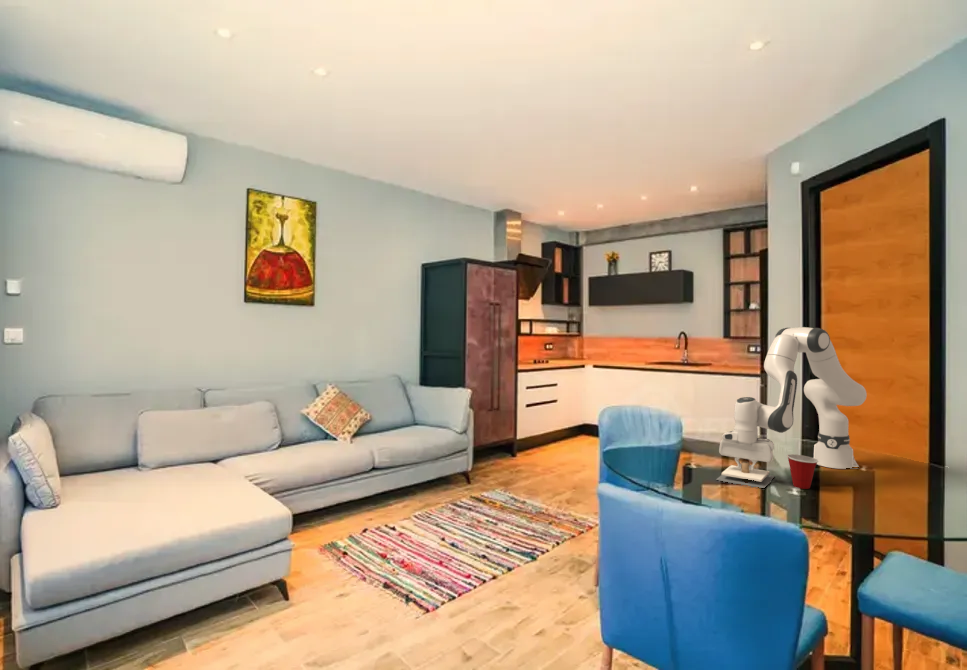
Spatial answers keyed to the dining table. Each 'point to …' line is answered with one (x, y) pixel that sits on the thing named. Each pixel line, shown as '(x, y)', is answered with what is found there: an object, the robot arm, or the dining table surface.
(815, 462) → the plastic cup
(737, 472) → the lid
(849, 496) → the dining table surface
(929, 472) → the dining table surface
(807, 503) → the dining table surface
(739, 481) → the mat
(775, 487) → the dining table surface
